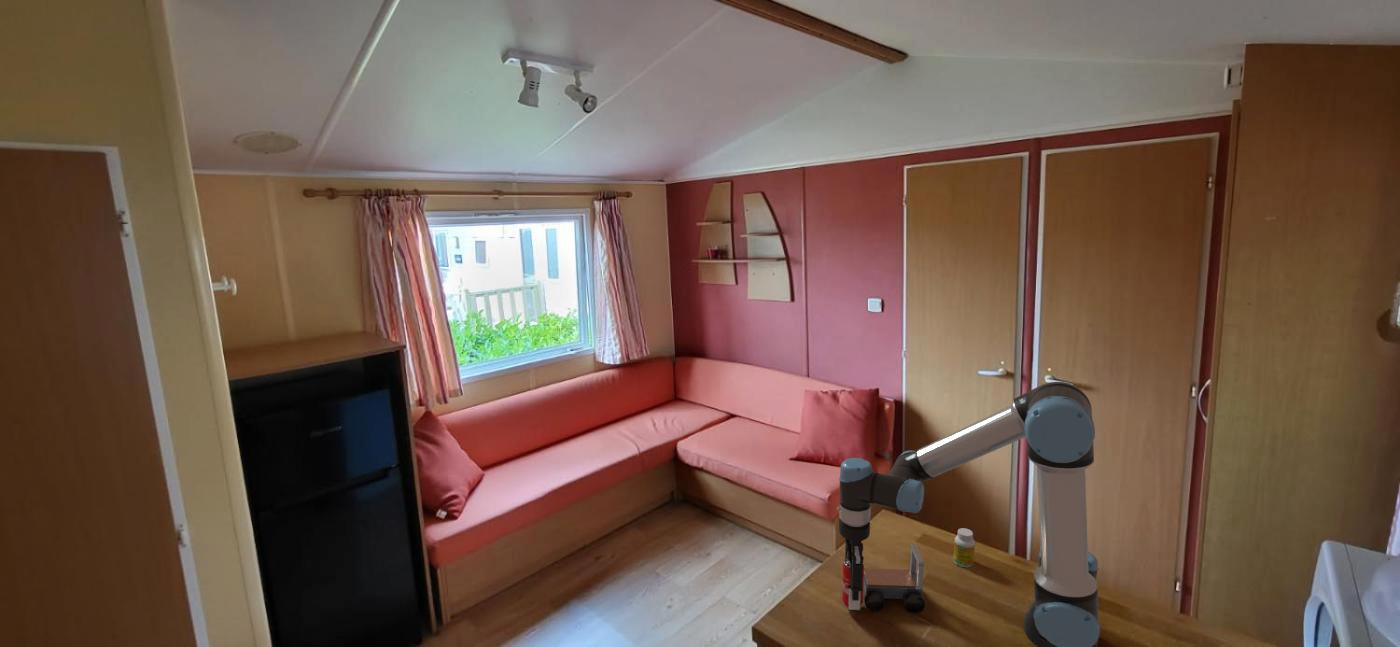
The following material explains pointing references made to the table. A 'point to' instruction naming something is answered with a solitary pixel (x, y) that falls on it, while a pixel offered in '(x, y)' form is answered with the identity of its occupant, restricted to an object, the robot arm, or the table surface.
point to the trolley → (896, 585)
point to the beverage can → (847, 582)
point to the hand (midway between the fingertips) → (852, 601)
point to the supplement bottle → (964, 548)
